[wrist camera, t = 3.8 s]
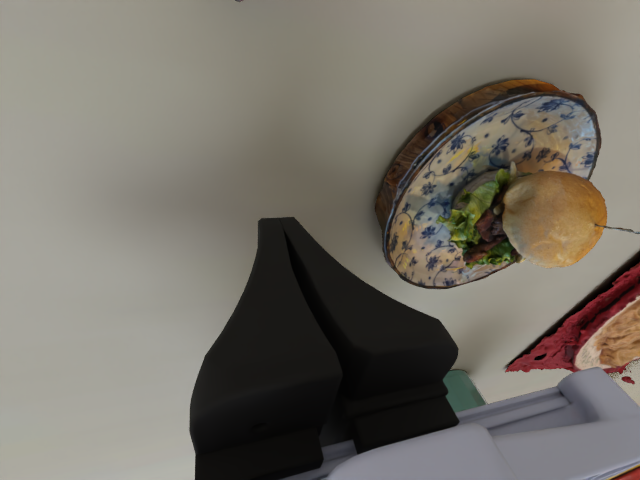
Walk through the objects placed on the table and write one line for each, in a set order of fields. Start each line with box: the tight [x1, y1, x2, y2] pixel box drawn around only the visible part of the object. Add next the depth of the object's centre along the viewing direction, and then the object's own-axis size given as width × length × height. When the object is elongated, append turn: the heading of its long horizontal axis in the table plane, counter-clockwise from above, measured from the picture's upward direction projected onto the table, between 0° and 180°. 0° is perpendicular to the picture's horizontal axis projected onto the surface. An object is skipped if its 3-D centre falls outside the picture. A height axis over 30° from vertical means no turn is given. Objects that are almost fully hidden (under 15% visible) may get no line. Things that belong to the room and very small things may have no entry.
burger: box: [375, 79, 640, 289], centre depth 15 cm, size 12×12×8 cm
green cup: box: [443, 370, 488, 413], centre depth 32 cm, size 8×8×9 cm
